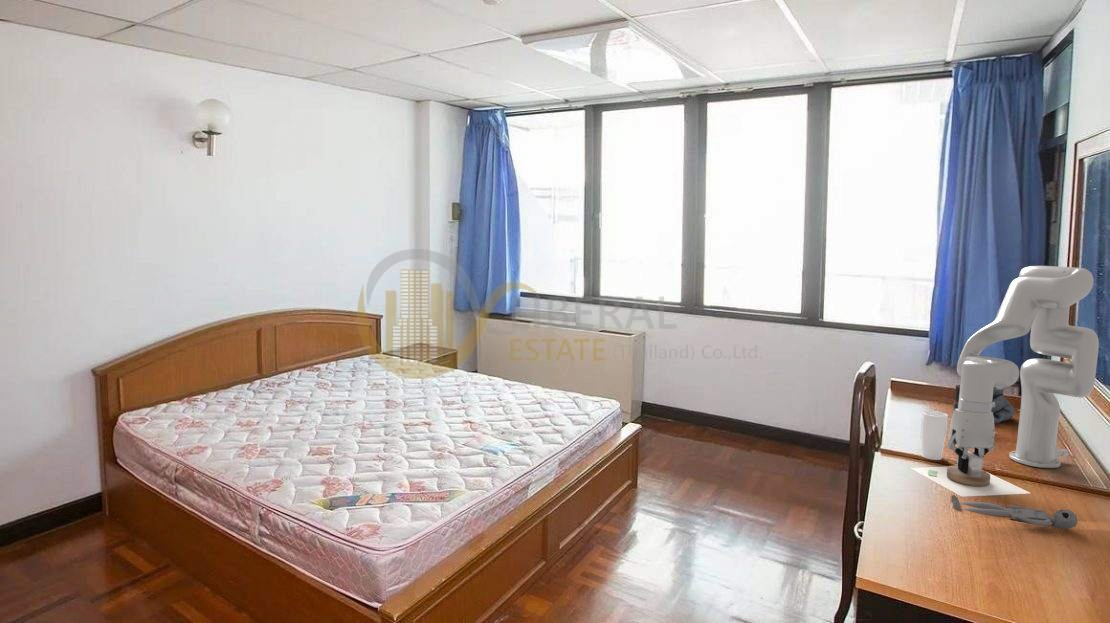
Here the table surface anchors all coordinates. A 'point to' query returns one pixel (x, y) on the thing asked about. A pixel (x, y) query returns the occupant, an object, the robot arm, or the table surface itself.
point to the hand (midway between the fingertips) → (968, 470)
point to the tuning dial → (969, 472)
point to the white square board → (994, 488)
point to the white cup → (933, 434)
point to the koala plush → (1001, 406)
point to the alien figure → (1022, 514)
